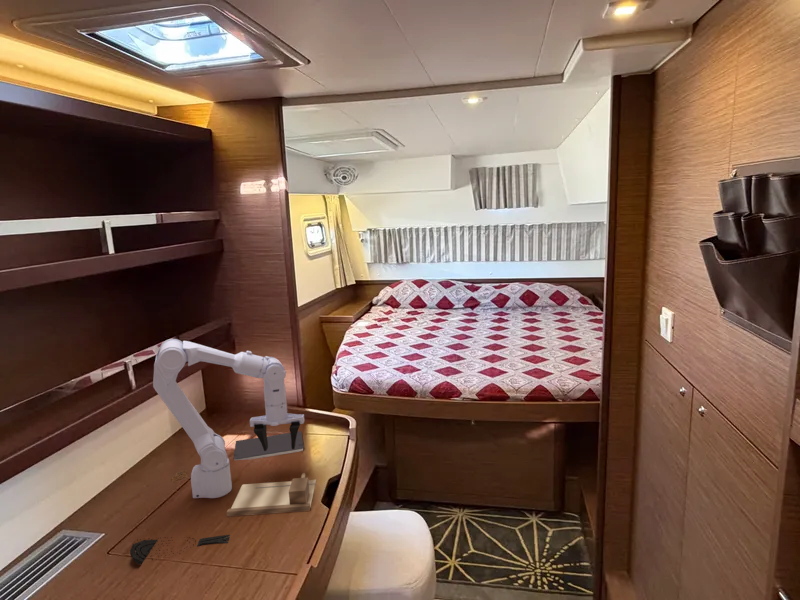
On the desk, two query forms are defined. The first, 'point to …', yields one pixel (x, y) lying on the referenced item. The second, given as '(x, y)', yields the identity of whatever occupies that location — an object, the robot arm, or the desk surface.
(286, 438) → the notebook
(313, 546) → the desk surface
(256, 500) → the plywood board
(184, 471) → the hand saw
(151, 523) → the desk surface
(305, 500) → the marking gauge
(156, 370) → the robot arm
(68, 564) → the desk surface
